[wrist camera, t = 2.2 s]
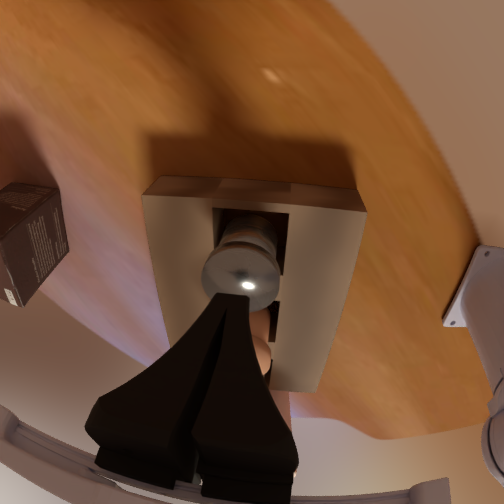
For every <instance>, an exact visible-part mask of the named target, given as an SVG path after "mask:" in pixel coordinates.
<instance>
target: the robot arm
mask: <svg viewBox="0 0 504 504" xmlns="http://www.w3.org/2000/svg"><path fill="white" fill-rule="evenodd" d="M485 252H487V253H485ZM249 310H250V298H249V297H248V296H247V295H237V294H228V293H218V292H217V293H216V294H214V296H213V298H212V299H211V301H210V302H209V304H208V305H207V306H206V308H205V309H204V311H203V312H202V313H201V315H200V316H199V317H198V318H197V320H196V321H195V322H194V323H193V324H192V326H191V327H190V328H189V329H188V330H187V331H186V333H185V334H184V335H183V336H182V337H181V338H180V339H179V340H178V341H177V342H176V343H175V344H174V345H173V346H172V347H171V348H170V349H169V350H168V351H167V352H166V353H165V354H164V355H163V356H161V357H160V358H159V359H158V360H157V361H155V362H154V363H153V364H152V365H151V366H149V367H148V368H147V369H146V370H144V371H143V372H141V373H140V374H138V375H137V376H136V377H134V378H132V379H131V380H129V381H128V382H127V383H125V384H123V385H121V386H120V387H118V388H116V389H114V390H112V391H110V392H109V393H107V394H105V395H103V396H101V397H99V398H98V400H97V402H96V403H95V405H94V406H93V408H92V410H91V412H90V415H89V417H88V419H87V421H86V424H85V430H86V432H87V433H88V435H89V436H90V437H91V438H92V439H93V440H94V441H95V442H96V443H97V444H98V445H99V446H100V448H99V450H98V453H97V456H96V455H93V454H90V453H88V452H85V451H83V450H80V449H78V448H76V447H73V446H71V445H69V444H66V443H64V442H62V441H60V440H58V439H55V438H53V437H51V436H49V435H47V434H45V433H43V432H41V431H39V430H37V429H35V428H33V427H31V426H29V425H27V424H26V423H24V422H22V421H20V420H19V419H18V417H17V416H15V415H14V414H13V413H12V412H11V411H10V410H8V409H7V408H5V407H3V406H2V405H0V462H1V463H3V464H4V465H6V466H7V467H9V468H10V469H12V470H13V471H15V472H16V473H18V474H20V475H21V476H23V477H24V478H26V479H27V480H29V481H31V482H33V483H34V484H36V485H38V486H39V487H41V488H43V489H45V490H46V491H49V492H50V493H52V494H54V495H56V496H58V497H60V498H62V499H63V500H66V501H68V502H70V503H72V504H171V503H167V502H163V501H160V500H156V499H152V498H149V497H145V496H142V495H138V494H135V493H131V492H128V491H126V490H124V489H122V488H121V487H119V486H118V485H117V484H116V483H115V482H113V481H111V480H109V479H113V480H115V481H118V482H121V483H124V484H127V485H130V486H133V487H136V488H139V489H143V490H146V491H150V492H153V493H157V494H160V495H164V496H168V497H172V498H176V499H181V500H185V501H190V502H195V503H200V504H451V496H450V487H449V478H447V477H446V478H441V479H437V480H431V481H426V482H422V483H419V484H416V485H414V486H412V487H411V488H410V489H406V490H399V491H392V492H384V493H374V494H363V495H348V496H291V489H292V484H293V477H294V472H295V471H296V469H297V467H298V464H299V458H298V452H297V448H296V445H295V442H294V439H293V436H292V432H291V430H290V429H289V427H288V425H287V424H286V422H285V420H284V419H283V417H282V415H281V413H280V412H279V410H278V408H277V406H276V404H275V402H274V400H273V398H272V395H271V393H270V391H269V389H268V387H267V384H266V382H265V379H264V377H263V374H262V371H261V368H260V365H259V362H258V359H257V356H256V352H255V348H254V344H253V340H252V334H251V329H250V322H249ZM442 323H443V326H445V327H467V328H468V330H469V333H470V335H471V337H472V340H473V342H474V344H475V347H476V349H477V352H478V354H479V357H480V359H481V362H482V365H483V367H484V370H485V373H486V376H487V378H488V381H489V384H490V387H491V390H492V393H493V396H494V397H493V398H492V399H491V401H489V402H488V403H487V406H488V409H489V412H490V416H489V417H488V419H487V420H486V422H485V424H484V426H483V430H482V436H481V446H482V455H483V459H484V462H485V464H486V467H487V468H488V470H489V472H490V473H491V474H492V475H493V477H495V478H496V479H497V480H498V481H499V482H500V483H501V485H502V486H503V488H504V248H500V247H493V246H487V245H480V246H478V247H477V249H476V250H475V253H474V255H473V258H472V260H471V262H470V265H469V267H468V269H467V272H466V274H465V276H464V278H463V280H462V282H461V285H460V287H459V289H458V291H457V293H456V295H455V297H454V299H453V301H452V303H451V305H450V307H449V309H448V311H447V313H446V315H445V316H444V318H443V320H442ZM98 474H99V475H98ZM100 475H101V476H100ZM102 476H104V477H107V478H109V479H106V478H104V477H102ZM201 479H202V481H203V483H202V485H199V484H200V483H201Z"/></svg>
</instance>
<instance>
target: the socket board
mask: <svg viewBox="0 0 504 504" xmlns="http://www.w3.org/2000/svg"><path fill="white" fill-rule="evenodd" d="M141 197H142V204H143V211H144V218H145V224H146V231H147V237H148V243H149V249H150V254H151V260H152V265H153V271H154V276H155V281H156V286H157V291H158V296H159V301H160V305H161V310H162V314H163V319H164V323H165V327H166V332H167V336H168V340H169V344H170V348H171V347H172V346H173V345H174V344H175V343H176V342H177V341H178V340H179V339H180V338H181V337H182V336H183V335H184V334H185V333H186V331H187V330H188V329H189V328H190V327H191V326H192V324H193V323H194V322H195V321H196V320H197V318H198V317H199V316H200V315H201V313H202V312H203V311H204V309H205V308H206V306H207V305H208V304H209V302H210V301H211V299H210V298H209V297H208V295H207V294H206V293H205V291H204V289H203V286H202V283H201V273H202V270H203V267H204V265H205V262H206V260H207V258H208V256H209V254H210V253H211V252H212V251H213V250H214V249H215V248H216V247H218V246H219V244H220V241H221V238H222V236H223V233H224V208H230V209H243V210H256V211H268V212H280V213H288V222H287V233H286V243H285V247H277V251H276V261H277V263H278V265H279V268H280V286H279V292H278V295H277V297H276V298H275V300H274V301H279V307H278V313H273V312H270V315H271V318H270V327H269V336H268V346H269V347H270V349H271V363H270V368H269V370H268V371H267V373H265V375H264V379H265V382H266V384H267V387H268V389H269V390H278V391H291V392H305V393H315V392H316V389H317V387H318V384H319V381H320V378H321V375H322V373H323V370H324V367H325V364H326V361H327V358H328V355H329V352H330V349H331V346H332V343H333V340H334V337H335V334H336V330H337V327H338V324H339V321H340V317H341V314H342V311H343V307H344V304H345V300H346V297H347V293H348V290H349V286H350V282H351V279H352V275H353V271H354V267H355V264H356V260H357V256H358V252H359V248H360V243H361V239H362V235H363V231H364V226H365V222H366V217H367V210H366V208H365V206H364V203H363V201H362V199H361V197H360V194H359V192H358V190H353V189H345V188H336V187H327V186H318V185H308V184H298V183H287V182H275V181H262V180H248V179H232V178H213V177H189V176H160V177H159V178H158V179H157V180H156V181H155V182H154V183H153V184H152V185H151V186H150V187H149V188H148V189H147V190H146V191H145V192H144V193H143V194H142V195H141Z"/></svg>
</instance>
